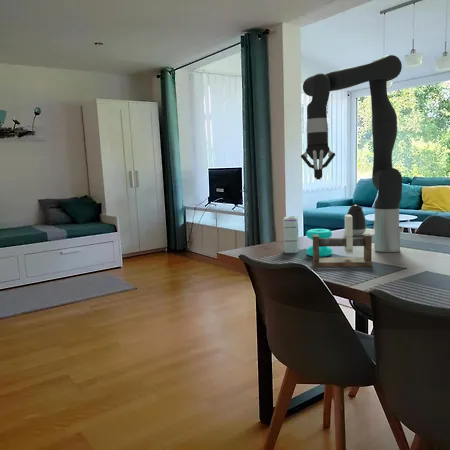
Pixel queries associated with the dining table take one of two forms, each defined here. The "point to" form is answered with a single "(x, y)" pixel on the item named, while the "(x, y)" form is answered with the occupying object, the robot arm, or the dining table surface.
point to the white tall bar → (349, 234)
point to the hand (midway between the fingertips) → (318, 179)
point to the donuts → (322, 234)
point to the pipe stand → (342, 260)
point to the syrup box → (291, 234)
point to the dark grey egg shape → (357, 220)
